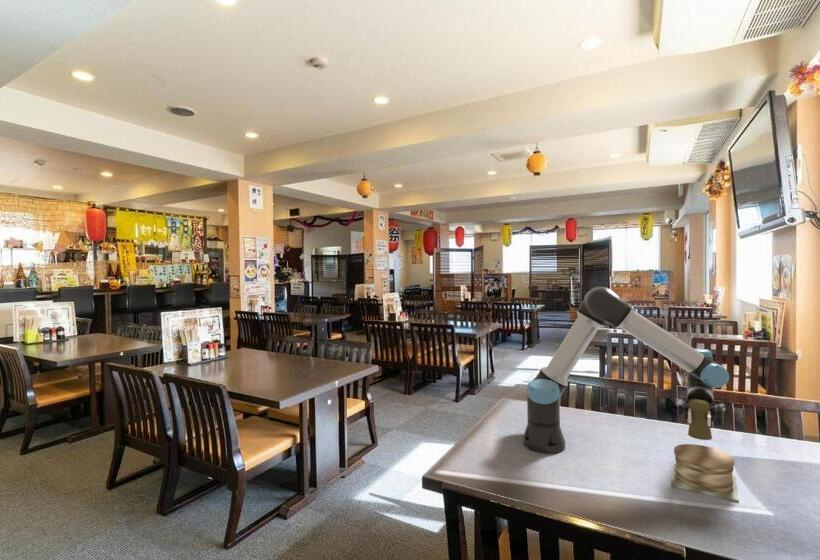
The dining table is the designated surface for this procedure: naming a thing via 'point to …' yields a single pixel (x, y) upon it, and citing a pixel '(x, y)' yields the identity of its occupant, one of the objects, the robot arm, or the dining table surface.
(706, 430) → the cork
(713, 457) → the stack of pancakes
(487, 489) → the dining table surface
